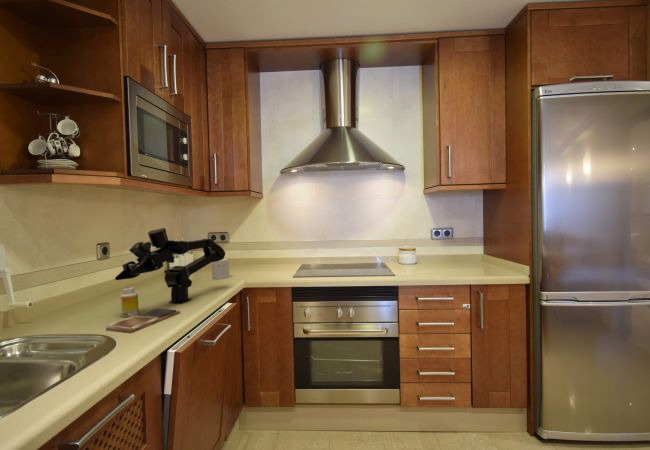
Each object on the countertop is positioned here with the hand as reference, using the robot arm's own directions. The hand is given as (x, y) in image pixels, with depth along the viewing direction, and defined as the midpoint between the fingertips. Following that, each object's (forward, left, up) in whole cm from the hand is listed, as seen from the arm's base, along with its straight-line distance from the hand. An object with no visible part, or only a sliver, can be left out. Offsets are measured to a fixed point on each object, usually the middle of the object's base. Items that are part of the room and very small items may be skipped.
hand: (122, 276), depth 120 cm
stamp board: (-1, +8, -16) cm, 18 cm away
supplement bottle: (-5, -4, -16) cm, 17 cm away
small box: (-71, -13, -16) cm, 74 cm away
